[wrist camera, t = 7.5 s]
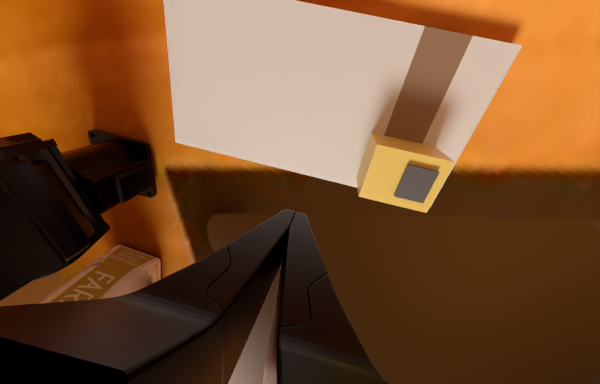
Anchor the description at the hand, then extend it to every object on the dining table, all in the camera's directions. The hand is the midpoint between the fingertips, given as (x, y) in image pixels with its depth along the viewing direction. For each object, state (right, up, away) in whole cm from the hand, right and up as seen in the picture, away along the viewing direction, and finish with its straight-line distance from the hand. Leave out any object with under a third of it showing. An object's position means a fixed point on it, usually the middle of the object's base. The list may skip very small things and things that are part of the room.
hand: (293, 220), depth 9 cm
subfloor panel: (+1, +9, +10) cm, 13 cm away
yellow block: (+8, +3, +9) cm, 13 cm away
